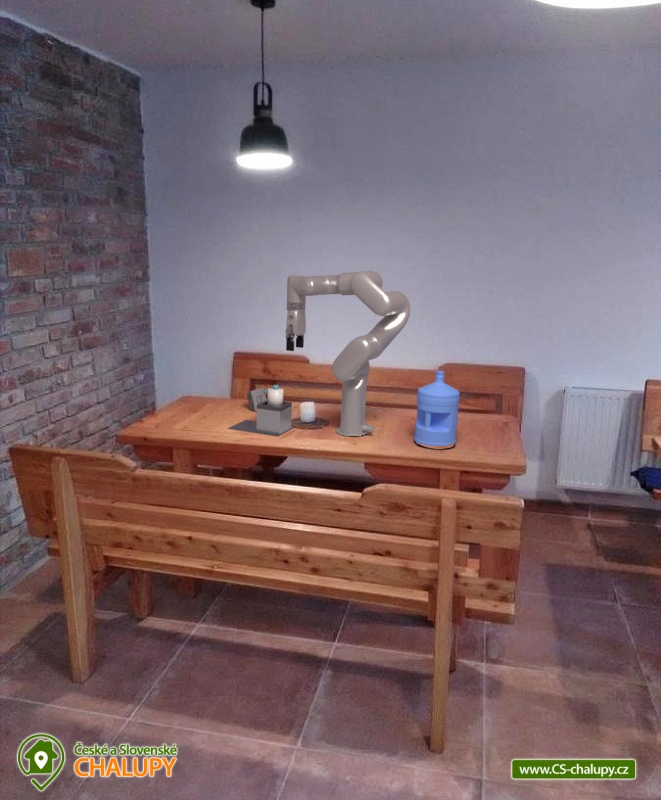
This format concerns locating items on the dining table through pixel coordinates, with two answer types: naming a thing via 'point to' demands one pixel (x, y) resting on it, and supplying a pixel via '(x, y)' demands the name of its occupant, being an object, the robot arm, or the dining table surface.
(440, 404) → the water jug
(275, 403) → the pump
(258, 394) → the electrical switch
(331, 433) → the dining table surface
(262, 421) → the grey box
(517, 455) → the dining table surface
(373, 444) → the dining table surface
